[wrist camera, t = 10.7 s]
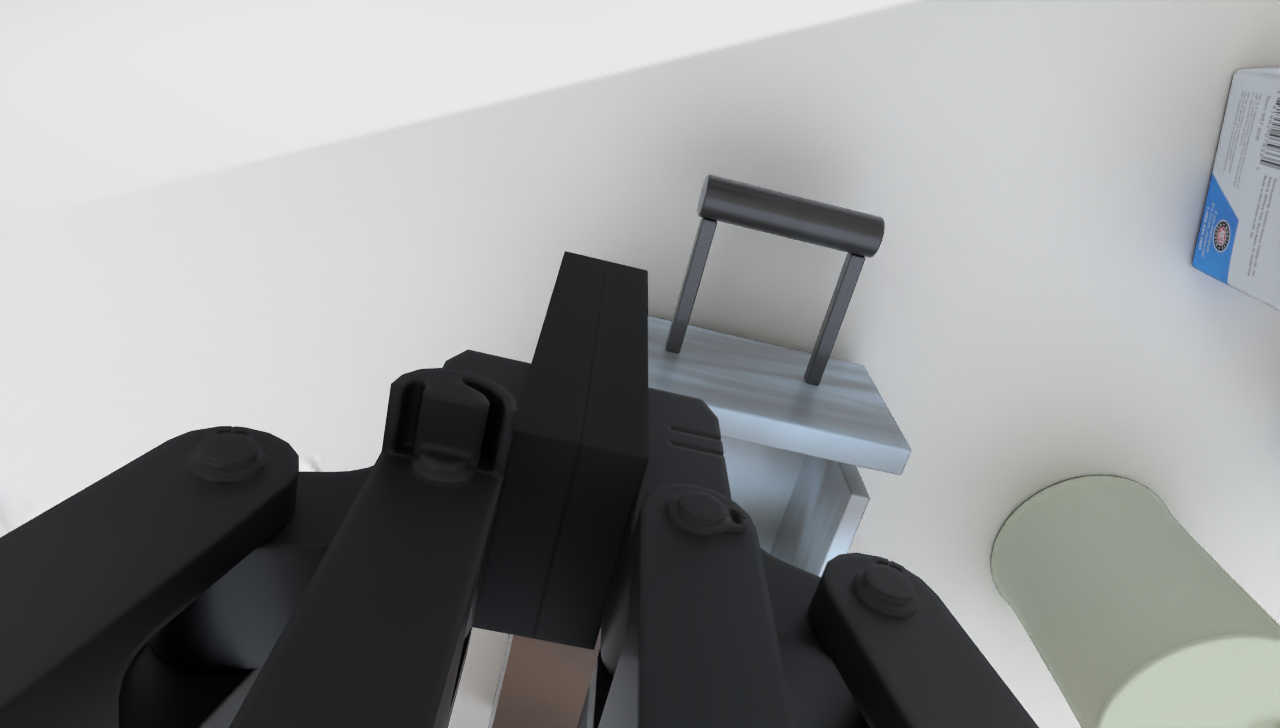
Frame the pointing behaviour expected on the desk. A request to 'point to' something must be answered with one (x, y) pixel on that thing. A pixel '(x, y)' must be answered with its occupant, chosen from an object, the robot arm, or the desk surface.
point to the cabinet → (542, 684)
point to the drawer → (784, 386)
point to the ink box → (1246, 191)
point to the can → (1135, 612)
